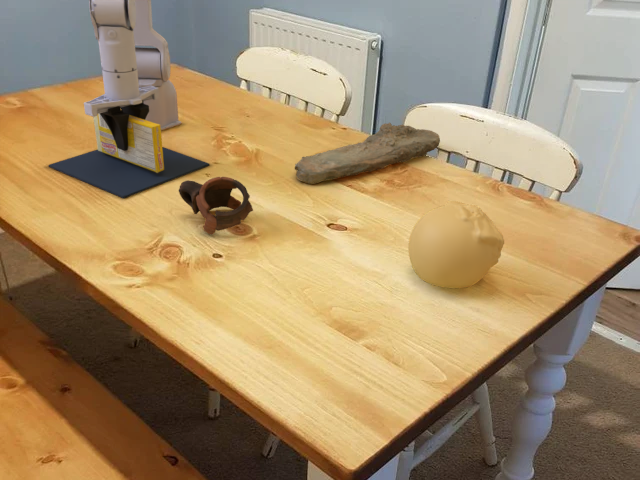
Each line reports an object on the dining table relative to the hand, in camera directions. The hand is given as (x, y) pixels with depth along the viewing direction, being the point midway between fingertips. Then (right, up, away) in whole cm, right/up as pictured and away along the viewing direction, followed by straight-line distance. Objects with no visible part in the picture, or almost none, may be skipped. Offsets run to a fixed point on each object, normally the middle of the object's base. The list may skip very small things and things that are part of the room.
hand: (128, 147), depth 122 cm
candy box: (0, -2, +2) cm, 3 cm away
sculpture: (+52, -25, -26) cm, 63 cm away
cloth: (0, -3, +2) cm, 4 cm away
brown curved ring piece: (+18, -15, -15) cm, 28 cm away
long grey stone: (+44, -1, +9) cm, 45 cm away
